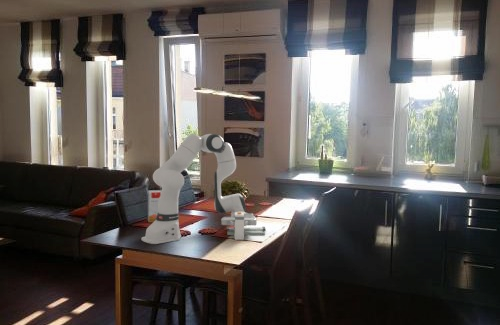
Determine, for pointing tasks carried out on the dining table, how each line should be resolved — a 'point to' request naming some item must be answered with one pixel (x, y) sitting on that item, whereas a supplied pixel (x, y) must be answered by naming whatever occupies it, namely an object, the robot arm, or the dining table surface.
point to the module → (239, 225)
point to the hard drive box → (153, 203)
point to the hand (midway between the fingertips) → (239, 224)
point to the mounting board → (248, 232)
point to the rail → (248, 229)
